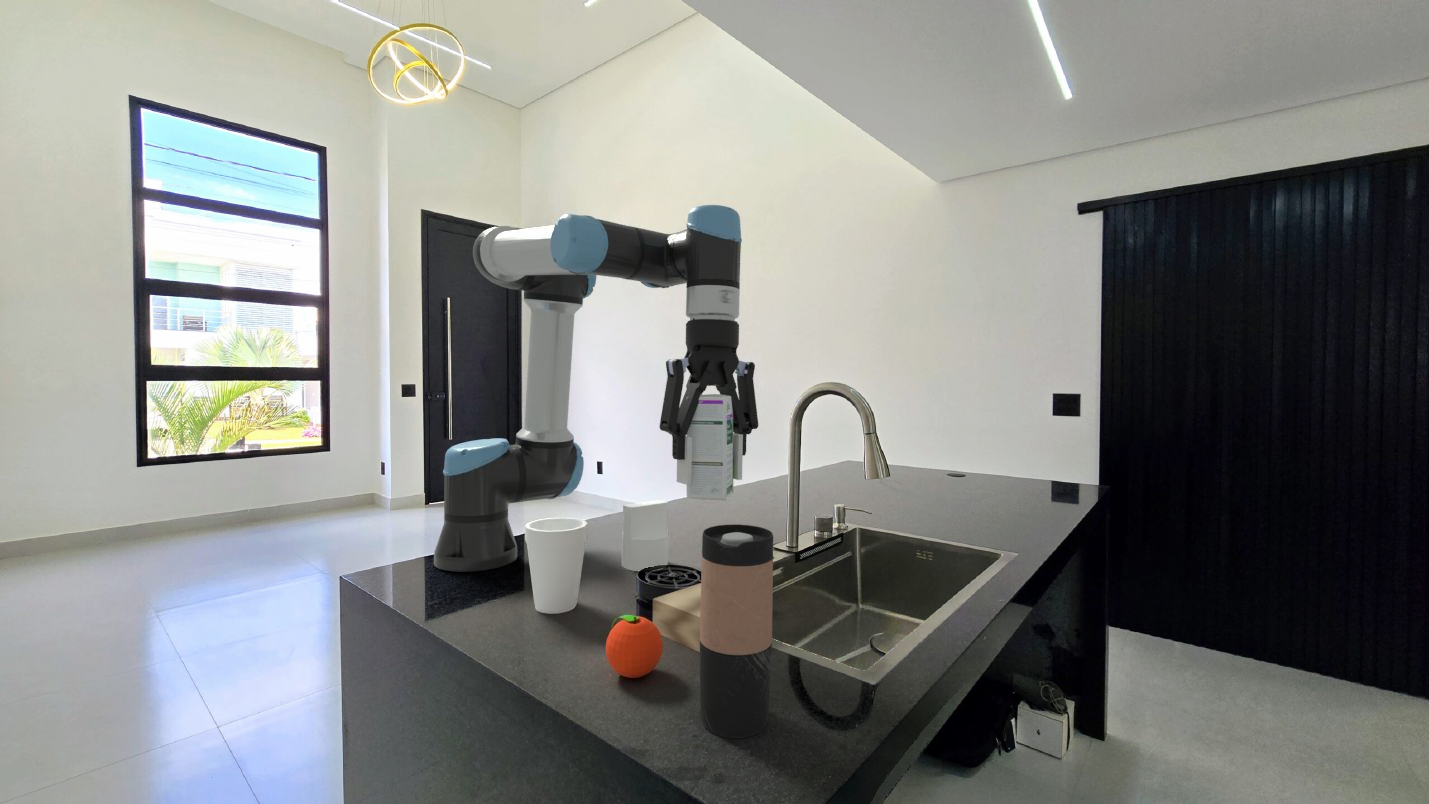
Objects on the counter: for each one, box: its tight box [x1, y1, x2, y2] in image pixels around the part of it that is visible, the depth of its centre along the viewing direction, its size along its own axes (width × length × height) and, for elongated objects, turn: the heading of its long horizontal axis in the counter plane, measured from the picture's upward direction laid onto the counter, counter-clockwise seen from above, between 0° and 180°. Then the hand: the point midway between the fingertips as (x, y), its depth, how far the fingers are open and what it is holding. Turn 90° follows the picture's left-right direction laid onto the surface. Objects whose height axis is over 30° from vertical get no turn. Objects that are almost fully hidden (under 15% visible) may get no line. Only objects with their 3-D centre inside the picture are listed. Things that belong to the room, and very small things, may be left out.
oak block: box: [652, 582, 701, 653], centre depth 87 cm, size 11×11×5 cm
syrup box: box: [686, 393, 734, 502], centre depth 86 cm, size 6×6×14 cm
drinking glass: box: [621, 499, 670, 570], centre depth 118 cm, size 9×9×12 cm
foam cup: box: [524, 517, 589, 615], centre depth 95 cm, size 10×9×13 cm
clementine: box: [605, 614, 664, 679], centre depth 74 cm, size 8×7×7 cm
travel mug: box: [699, 523, 774, 739], centre depth 64 cm, size 8×8×20 cm
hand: (709, 480), depth 86 cm, fingers closed on syrup box, 8 cm apart
